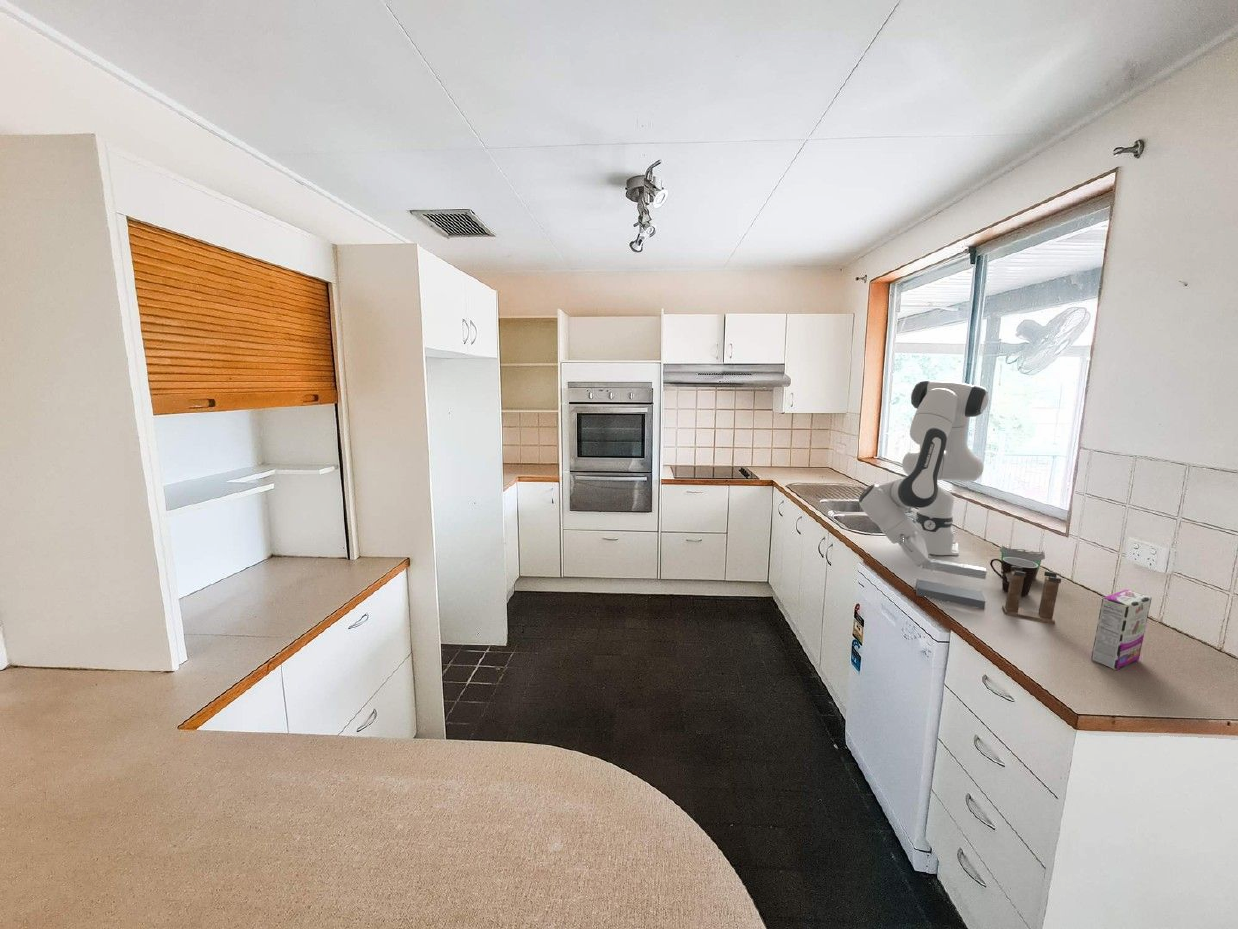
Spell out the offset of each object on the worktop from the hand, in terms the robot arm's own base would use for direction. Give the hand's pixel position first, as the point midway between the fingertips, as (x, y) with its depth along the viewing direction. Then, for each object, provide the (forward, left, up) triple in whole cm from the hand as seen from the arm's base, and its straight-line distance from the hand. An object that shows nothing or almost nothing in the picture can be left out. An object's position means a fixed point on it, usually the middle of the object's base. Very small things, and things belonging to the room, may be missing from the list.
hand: (933, 566), depth 150 cm
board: (-1, +5, -9) cm, 10 cm away
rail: (-1, +5, -1) cm, 5 cm away
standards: (-4, +23, -9) cm, 25 cm away
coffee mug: (-22, +18, -9) cm, 30 cm away
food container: (-36, +19, -9) cm, 42 cm away
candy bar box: (+10, +41, -9) cm, 43 cm away
